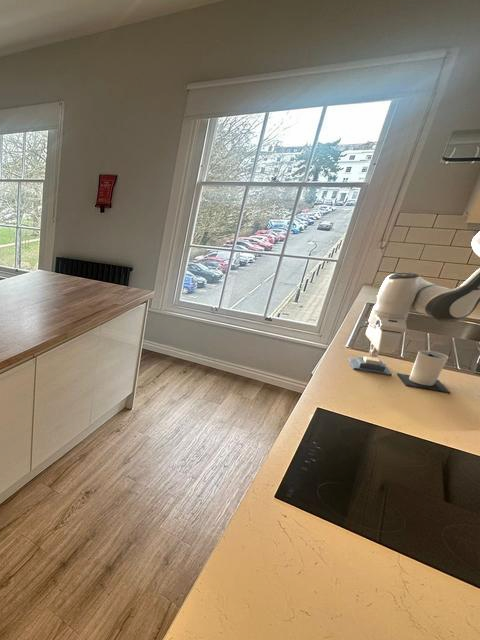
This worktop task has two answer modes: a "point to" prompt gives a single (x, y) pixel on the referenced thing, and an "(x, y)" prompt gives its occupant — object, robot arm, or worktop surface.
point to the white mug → (427, 367)
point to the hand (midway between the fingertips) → (372, 355)
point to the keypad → (369, 367)
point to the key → (371, 360)
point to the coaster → (436, 387)
